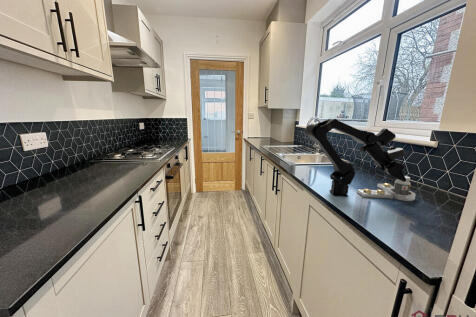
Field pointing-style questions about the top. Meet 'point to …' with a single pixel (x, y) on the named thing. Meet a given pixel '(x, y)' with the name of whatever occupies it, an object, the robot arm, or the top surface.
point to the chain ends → (386, 193)
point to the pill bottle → (402, 186)
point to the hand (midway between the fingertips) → (400, 177)
